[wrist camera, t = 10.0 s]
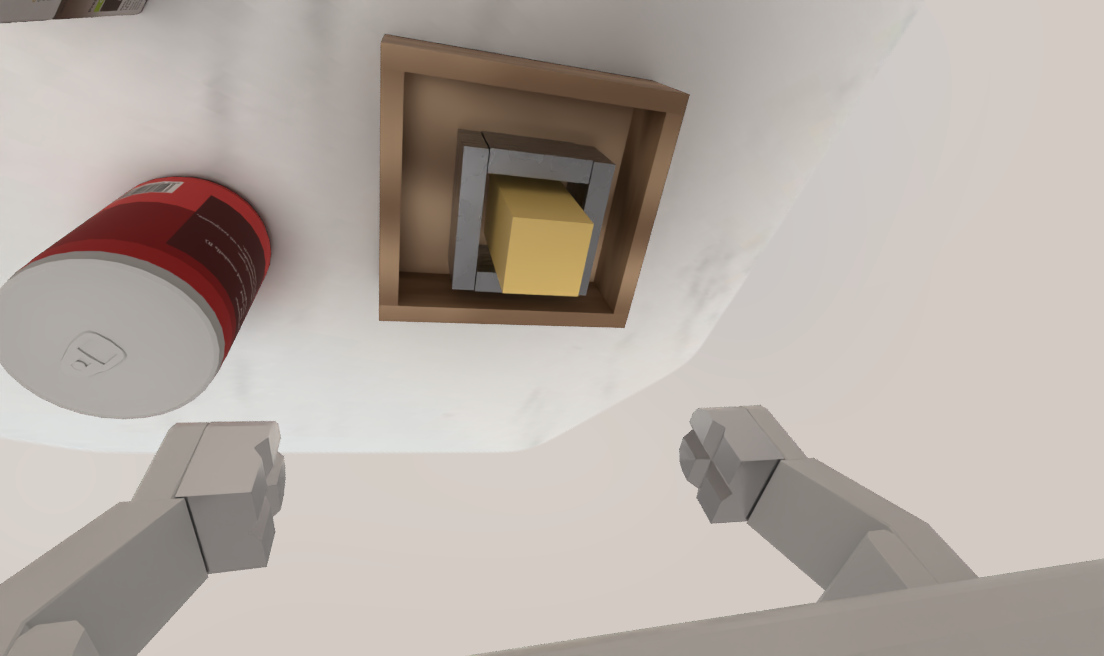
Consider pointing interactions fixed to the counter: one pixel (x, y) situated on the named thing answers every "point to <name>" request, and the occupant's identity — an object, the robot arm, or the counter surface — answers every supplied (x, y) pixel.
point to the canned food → (136, 300)
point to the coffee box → (65, 9)
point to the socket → (525, 159)
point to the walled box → (428, 174)
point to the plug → (536, 236)
